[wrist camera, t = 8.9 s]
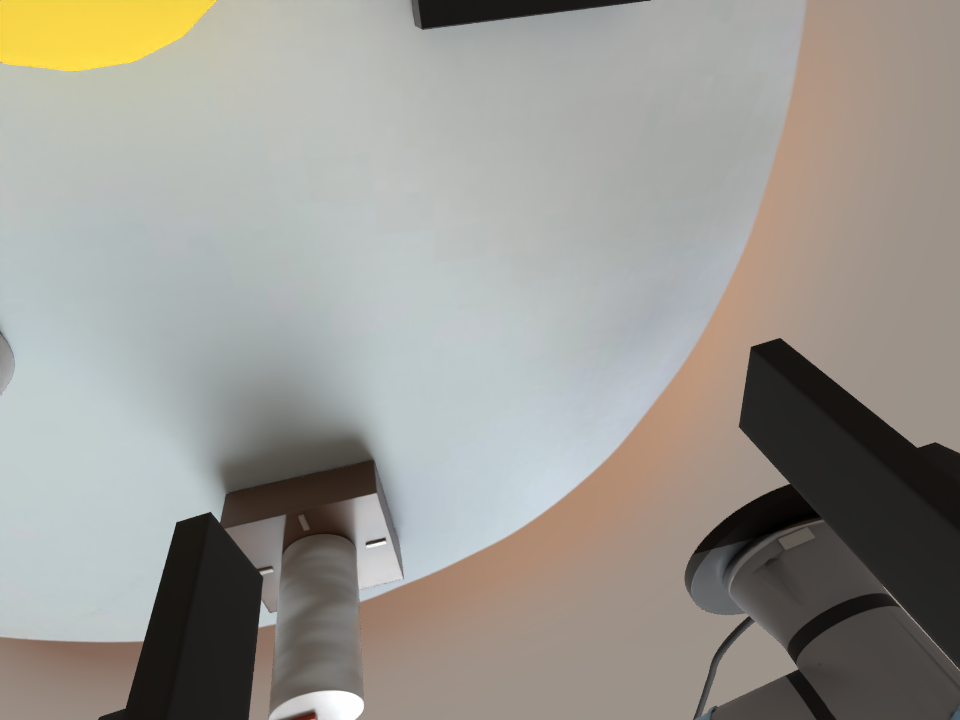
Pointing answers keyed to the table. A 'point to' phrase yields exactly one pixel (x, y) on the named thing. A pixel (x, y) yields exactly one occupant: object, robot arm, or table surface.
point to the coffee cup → (5, 364)
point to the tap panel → (316, 523)
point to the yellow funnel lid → (91, 30)
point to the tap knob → (318, 633)
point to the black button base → (494, 10)
